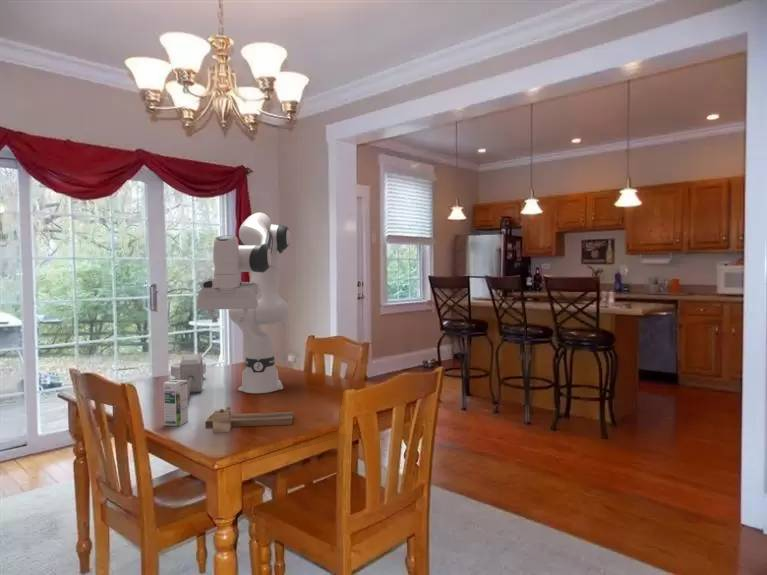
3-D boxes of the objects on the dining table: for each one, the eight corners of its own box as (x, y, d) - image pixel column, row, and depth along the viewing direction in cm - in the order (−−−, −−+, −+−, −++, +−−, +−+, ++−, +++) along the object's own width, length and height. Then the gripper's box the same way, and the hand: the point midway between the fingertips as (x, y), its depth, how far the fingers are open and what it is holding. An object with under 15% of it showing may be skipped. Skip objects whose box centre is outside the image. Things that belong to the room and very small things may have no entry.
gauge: (221, 420, 179) (220, 401, 179) (236, 420, 179) (235, 400, 179) (213, 432, 167) (212, 411, 166) (229, 431, 167) (228, 410, 167)
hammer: (192, 386, 193) (201, 352, 221) (170, 387, 191) (182, 353, 219) (195, 422, 197) (203, 385, 225) (173, 423, 195) (184, 386, 223)
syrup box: (163, 425, 174) (162, 382, 173) (173, 420, 179) (172, 378, 179) (179, 426, 173) (178, 383, 172) (188, 421, 178) (187, 379, 178)
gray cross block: (184, 376, 251) (184, 359, 250) (212, 377, 247) (212, 361, 246) (163, 383, 236) (163, 366, 236) (193, 385, 232) (192, 367, 232)
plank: (211, 420, 179) (211, 414, 179) (293, 417, 182) (293, 411, 182) (205, 427, 171) (205, 421, 171) (291, 424, 174) (291, 418, 174)
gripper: (259, 281, 185) (260, 320, 186) (199, 282, 183) (201, 321, 184) (256, 282, 178) (257, 322, 179) (195, 283, 176) (196, 323, 177)
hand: (228, 321), depth 181 cm, fingers open, 8 cm apart
